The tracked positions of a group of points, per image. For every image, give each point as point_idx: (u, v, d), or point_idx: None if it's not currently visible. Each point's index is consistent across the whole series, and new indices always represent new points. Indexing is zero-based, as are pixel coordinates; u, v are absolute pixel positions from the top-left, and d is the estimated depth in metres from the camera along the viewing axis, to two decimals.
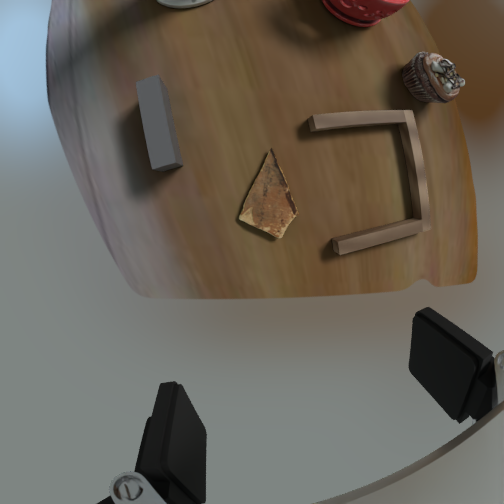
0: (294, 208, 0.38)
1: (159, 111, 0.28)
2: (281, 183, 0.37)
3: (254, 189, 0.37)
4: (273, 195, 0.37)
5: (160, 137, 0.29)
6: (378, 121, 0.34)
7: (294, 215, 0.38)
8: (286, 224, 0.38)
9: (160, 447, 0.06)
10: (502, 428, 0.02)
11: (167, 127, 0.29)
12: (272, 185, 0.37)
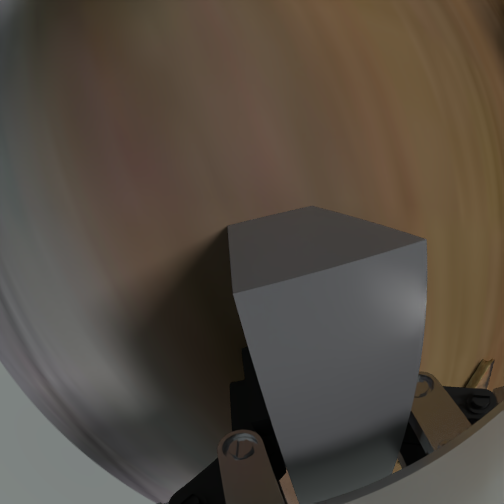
0: None
1: (381, 448, 0.05)
2: None
3: None
4: None
5: None
6: None
7: None
8: None
9: None
10: (502, 428, 0.02)
11: (388, 473, 0.06)
12: None
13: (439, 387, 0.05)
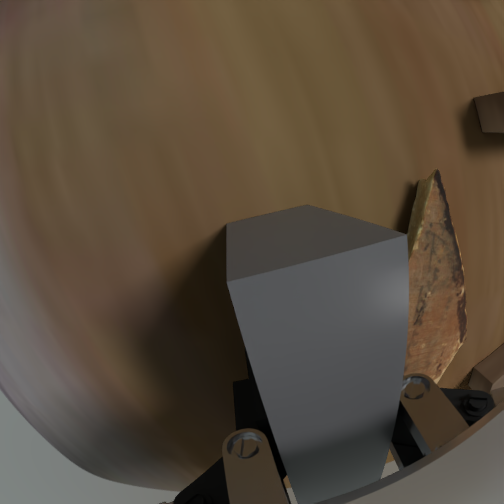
0: (464, 329, 0.11)
1: (372, 437, 0.05)
2: (456, 277, 0.10)
3: None
4: (436, 316, 0.10)
5: (350, 488, 0.06)
6: None
7: (460, 344, 0.11)
8: (443, 369, 0.11)
9: None
10: (502, 428, 0.02)
11: (381, 465, 0.06)
12: (437, 288, 0.10)
13: (436, 388, 0.05)
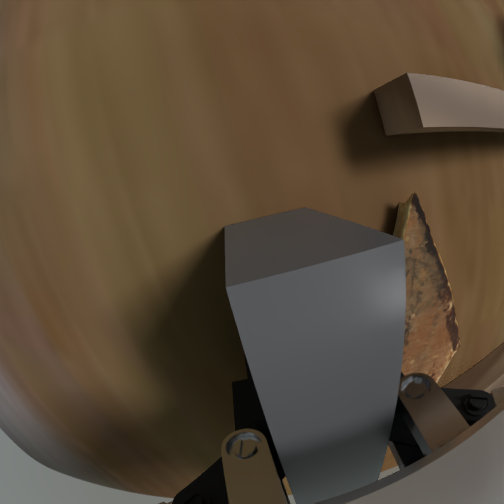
0: (456, 338, 0.11)
1: (369, 439, 0.05)
2: (442, 295, 0.10)
3: None
4: (423, 334, 0.11)
5: (348, 488, 0.06)
6: None
7: (454, 352, 0.12)
8: (438, 377, 0.12)
9: None
10: (502, 428, 0.02)
11: (378, 466, 0.06)
12: (422, 309, 0.10)
13: (436, 388, 0.05)
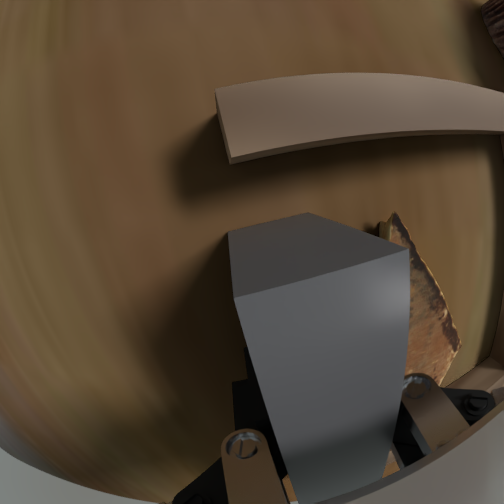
0: (456, 340, 0.11)
1: (372, 442, 0.05)
2: (434, 305, 0.10)
3: None
4: (418, 345, 0.11)
5: None
6: (482, 124, 0.07)
7: (455, 353, 0.12)
8: (441, 378, 0.12)
9: None
10: (502, 428, 0.02)
11: (381, 468, 0.06)
12: (414, 323, 0.10)
13: (436, 388, 0.05)
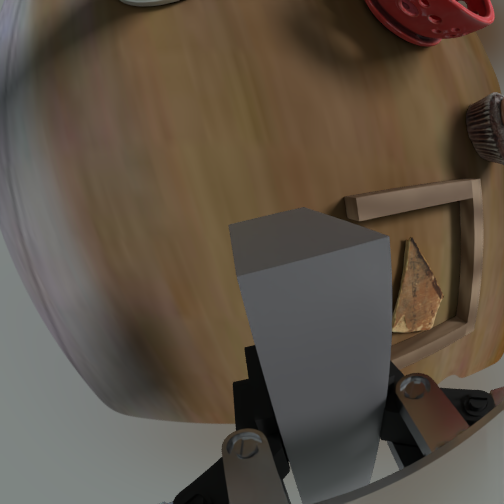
0: (440, 292, 0.26)
1: (364, 420, 0.06)
2: (427, 273, 0.26)
3: (403, 294, 0.26)
4: (422, 291, 0.26)
5: (346, 472, 0.07)
6: (442, 201, 0.22)
7: (440, 299, 0.27)
8: (435, 312, 0.27)
9: (269, 399, 0.07)
10: (502, 428, 0.02)
11: (374, 449, 0.07)
12: (419, 280, 0.26)
13: (436, 388, 0.05)
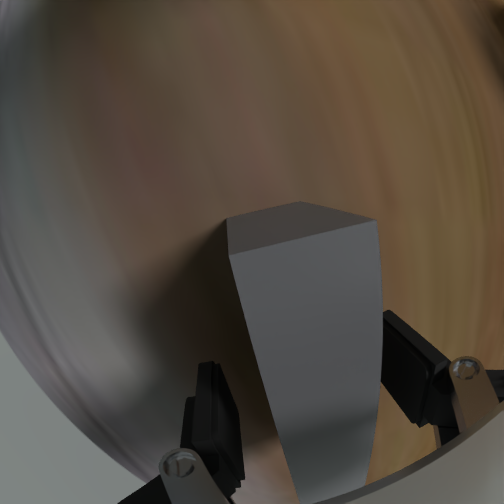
0: None
1: (358, 409, 0.06)
2: None
3: None
4: None
5: (342, 465, 0.07)
6: None
7: None
8: None
9: (210, 421, 0.06)
10: (502, 428, 0.02)
11: (370, 441, 0.07)
12: None
13: (483, 373, 0.05)
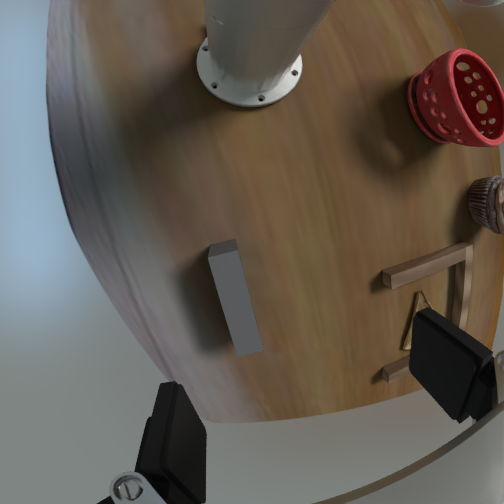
0: None
1: (243, 299, 0.28)
2: None
3: None
4: None
5: (246, 328, 0.29)
6: (443, 267, 0.34)
7: None
8: None
9: (160, 447, 0.06)
10: (502, 428, 0.02)
11: (253, 317, 0.29)
12: None
13: None
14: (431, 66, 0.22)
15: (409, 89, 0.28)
